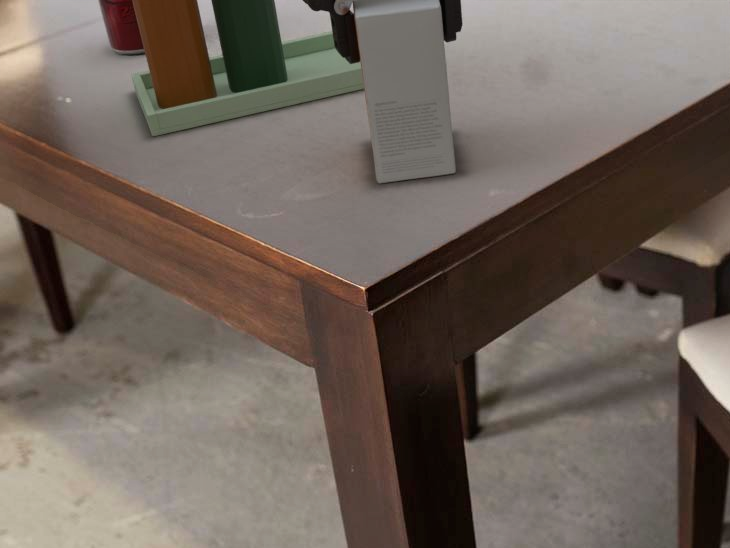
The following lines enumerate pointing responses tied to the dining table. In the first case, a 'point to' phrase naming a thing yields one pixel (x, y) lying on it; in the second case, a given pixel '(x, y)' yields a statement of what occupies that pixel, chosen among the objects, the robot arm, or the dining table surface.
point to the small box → (405, 87)
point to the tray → (305, 83)
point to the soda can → (122, 26)
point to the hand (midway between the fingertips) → (400, 49)
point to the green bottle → (250, 43)
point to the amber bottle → (175, 51)
